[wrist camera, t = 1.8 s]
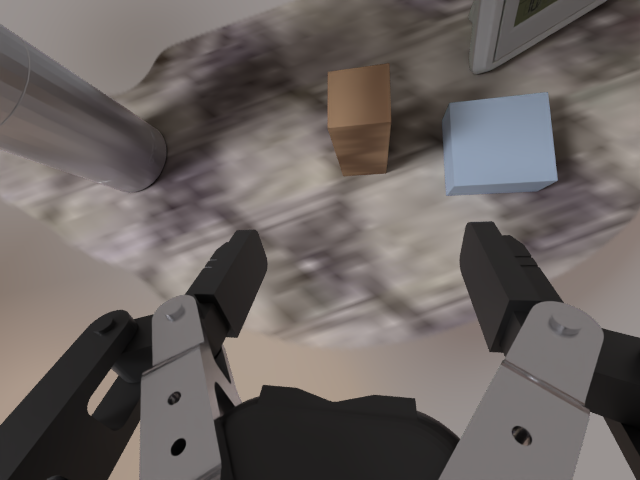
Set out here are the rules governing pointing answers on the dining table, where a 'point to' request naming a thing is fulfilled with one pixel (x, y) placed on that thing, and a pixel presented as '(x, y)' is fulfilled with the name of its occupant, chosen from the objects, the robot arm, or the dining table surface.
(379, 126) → the walnut pillar
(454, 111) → the pedestal
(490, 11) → the digital clock
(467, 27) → the dining table surface
